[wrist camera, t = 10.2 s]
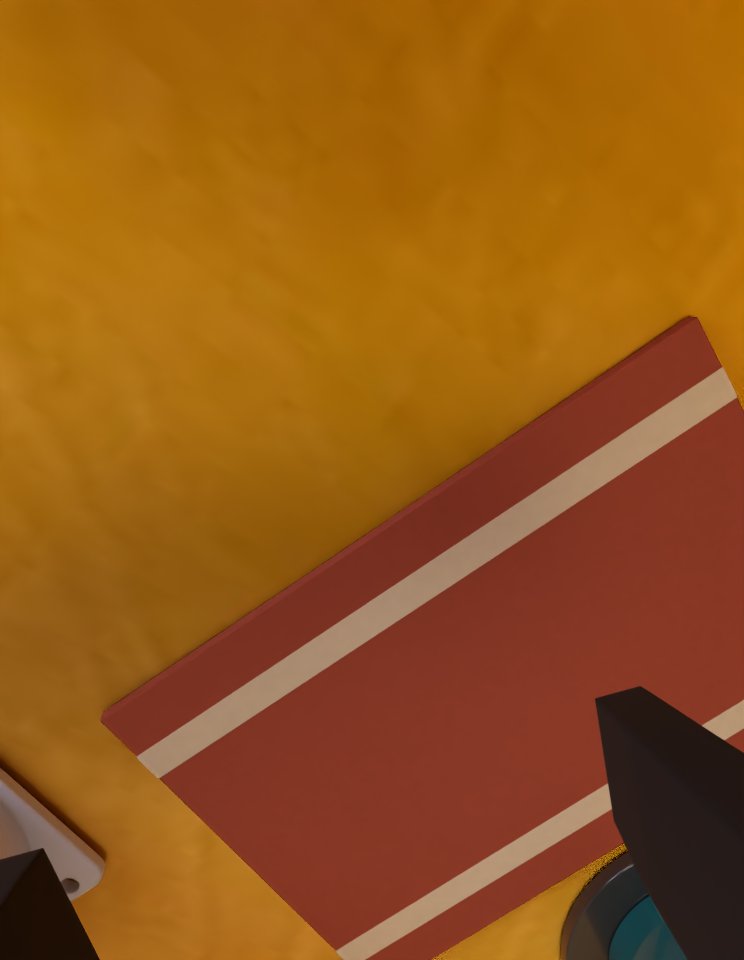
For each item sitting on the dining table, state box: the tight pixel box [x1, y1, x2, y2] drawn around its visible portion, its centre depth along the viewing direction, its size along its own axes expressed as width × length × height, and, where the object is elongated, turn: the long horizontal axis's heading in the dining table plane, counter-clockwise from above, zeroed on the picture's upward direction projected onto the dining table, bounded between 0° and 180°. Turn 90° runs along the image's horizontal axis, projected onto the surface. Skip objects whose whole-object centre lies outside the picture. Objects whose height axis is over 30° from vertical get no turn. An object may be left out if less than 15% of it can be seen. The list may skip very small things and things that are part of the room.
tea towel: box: [100, 316, 744, 960], centre depth 20 cm, size 18×13×1 cm
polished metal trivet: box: [561, 852, 649, 960], centre depth 23 cm, size 8×8×1 cm
